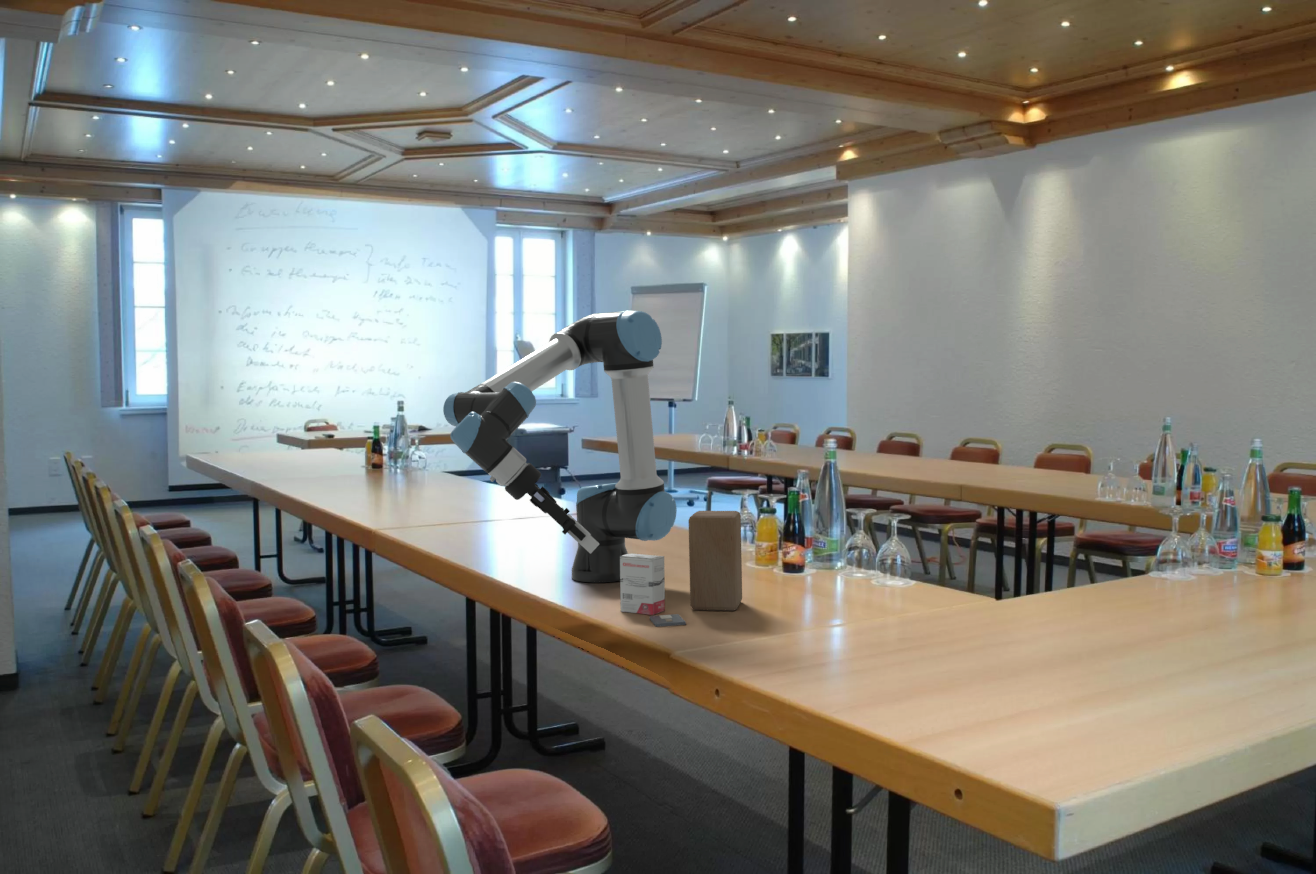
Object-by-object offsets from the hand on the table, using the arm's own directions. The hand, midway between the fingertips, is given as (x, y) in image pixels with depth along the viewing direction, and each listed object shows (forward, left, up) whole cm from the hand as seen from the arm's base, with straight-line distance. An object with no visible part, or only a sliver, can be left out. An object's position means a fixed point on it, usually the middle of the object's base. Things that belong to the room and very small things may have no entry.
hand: (590, 543), depth 220 cm
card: (+11, +14, -15) cm, 23 cm away
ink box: (0, +11, -15) cm, 18 cm away
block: (0, +27, -15) cm, 31 cm away
